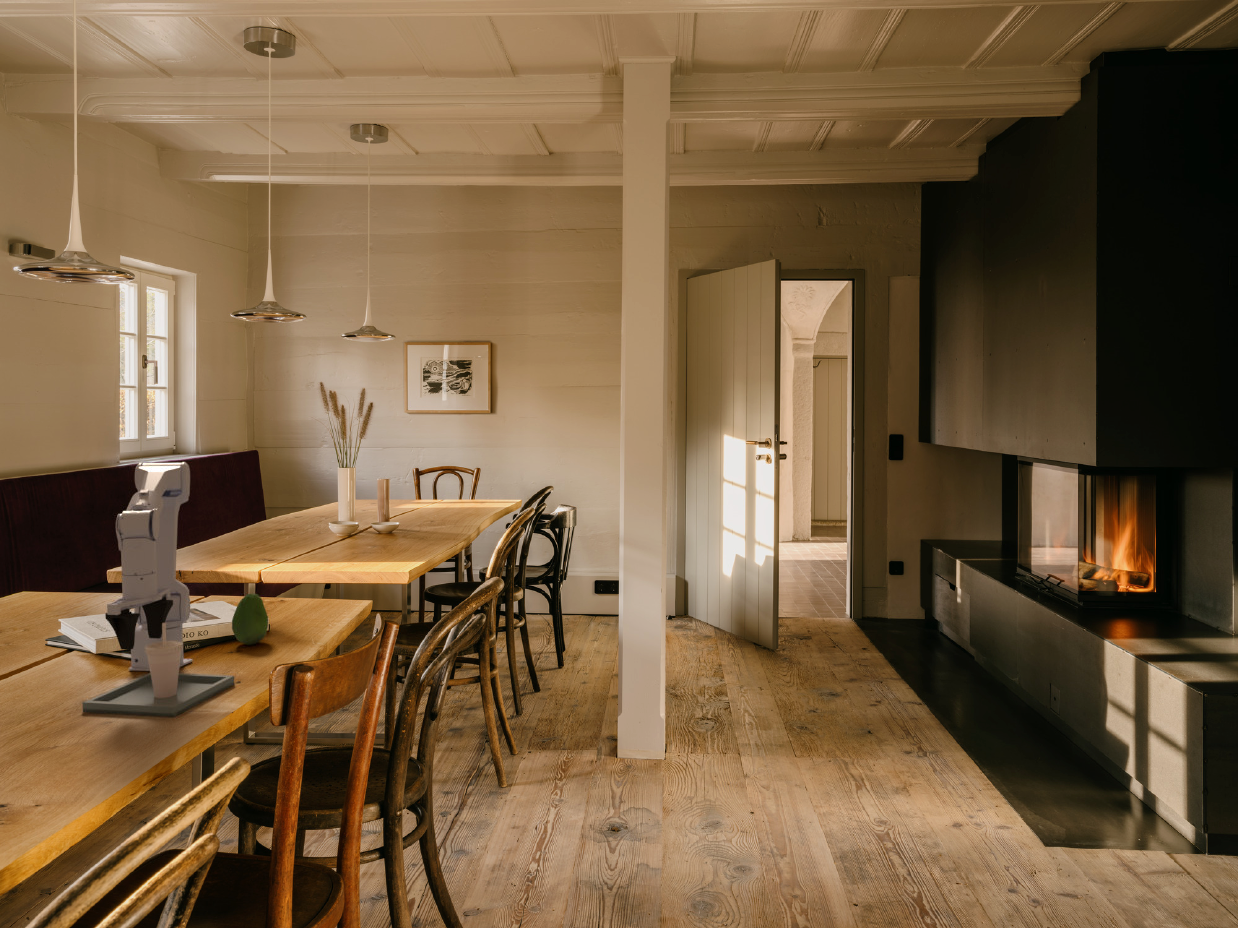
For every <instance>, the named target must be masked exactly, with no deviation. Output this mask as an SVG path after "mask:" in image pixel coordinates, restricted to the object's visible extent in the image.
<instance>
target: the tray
mask: <svg viewBox="0 0 1238 928" xmlns="http://www.w3.org/2000/svg"><path fill="white" fill-rule="evenodd" d="M234 685H235V675H226V674H225V675H224V674H203V673H202V674H201V673H183V672H182V673H181V672H179V676H178V685H177V694H176V695H174V696H171V697H167V698H156V697H155V696H154V691H153V685H152V679H151V673H150V672H149V673H146V674H144V675H141V676H140V677H138V678H135V679H133V680H131V681H128V682H125V683H124V684H122V685H120V686H119V685H118V686H116V687H115V688H111V689H110V690H108V691H105V692H102V693H101V694H99V695H97V696H95V697H91V698H89V699H87V700H85V701H82V712H83V713H93V714H109V715H110V714H113V715H127V716H128V715H130V716H131V715H132V716H143V717H144V716H146V717H166V718H167V717H168V718H175V717H177V716H178V715H180V714H182V713H184V712H186V711H188V710H190V709H191V708H193V707H195V706H197V705H199V704H200V703H202V702H204V701H206V700H208V699H210V698H213V696H216V695H217V694H219V693H221V692H224V691H225V690H227V689H229V688H230V686H231V687H233V686H234Z"/></svg>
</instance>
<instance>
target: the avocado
mask: <svg viewBox="0 0 1238 928" xmlns="http://www.w3.org/2000/svg"><path fill="white" fill-rule="evenodd" d="M268 627H269V615H268V613H267V611H266V607H265V605H264V601H263V599H262V598H261V597H260V595H259V594H258V593H249V594H246V595H245V596H244V597H242V598H241V599H240V601H239V602H238V604H237V606H236V609H235V610H234V614H233V617H232V620H231V629H232V632H233V636H234V637H235V638H236V640H237V641H238V642H240V643H242V644H245V645H248V646H252V645H255V644H257V643H259V642H260V641H262V640H263V639H264V638H265V636H266V634H267V631H268Z"/></svg>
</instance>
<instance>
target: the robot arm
mask: <svg viewBox="0 0 1238 928" xmlns="http://www.w3.org/2000/svg"><path fill="white" fill-rule="evenodd" d="M134 484H135V488H136V489H137V492H135V493H134V494H133V495H132V497H131V499H130V501H129V503H128V506H127V508H126V510H123V511H122V513H118V514H117V517H116V520H115V533H116V538H117V544H118V551H120V554H121V555H120V556H121V558H120V560H121V587H122V590H121V591H122V593H121V595H122V596H121V597H120V598H118V599H116V600H114V601H113V602H110V603H107V604H106V611H107V612H106V613H104V614H105V615H104V616H105V617H104V618H105V619H106V621H107V622H108V623H109V626H111V628H112V630H113V631H114V633H115V635H116V639H117V641H118V646H119V647H120V650H127V651H128V650H129V651H130V656H131V657H130V660H131V666H130V667H128V671H139V672H140V671H141V672H142V671H143V672H150V668H149V662H148V656H147V654H146V653H145V647H146V646H147V645H149V644H152V643H156V642H161V641H163V634H162V623H166V641H181V642H182V643H183V644H184V636H183V635H184V633H183V631H184V630H183V624H184V623H186V622H188V620H189V619H190V617H191V616H190V615H191V599H190V589H189V588H188V586H187V585H186V584H184V583H183V582H182V581H180V580H178V579H176V576H177V573H176V572H177V547H178V546H177V544H178V521H179V519H178V518H179V511H180V507H181V505H182V504H184V503H187V502H188V501H189V497H190V491H191V488H190V487H191V470H190V465H189V464H188V463H187V462H186V461H182V462H147V463H145V462H141V461H140V462H139V463H138V464H137V465H136V467H135V470H134ZM132 609H134V611H133V612H134V613H133V612H132V611H130V610H132ZM137 625H138V626H137ZM193 660H194V659H192V658H184V648H183V649H182V650H181V658H180V666H179V668H182V667H183V666H185V665H188V664H190V663H191V662H192V663H193Z"/></svg>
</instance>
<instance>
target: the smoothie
mask: <svg viewBox="0 0 1238 928" xmlns="http://www.w3.org/2000/svg"><path fill="white" fill-rule="evenodd" d="M162 634H163V641H161V642H156V643H152V644H149V645H147V646H146V647H145V653H146V654H147V656H148V662H149V668H150V671H149V673H151V679H152V685H153V691H154V696H155V697H156V698H167V697H171V696H174V695H176V694H177V685H178V676H179V673H180V667H179V666H180V658H181V650H182V649H183V650H184V642H183V643H182V642H181V641H166V623H162Z"/></svg>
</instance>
